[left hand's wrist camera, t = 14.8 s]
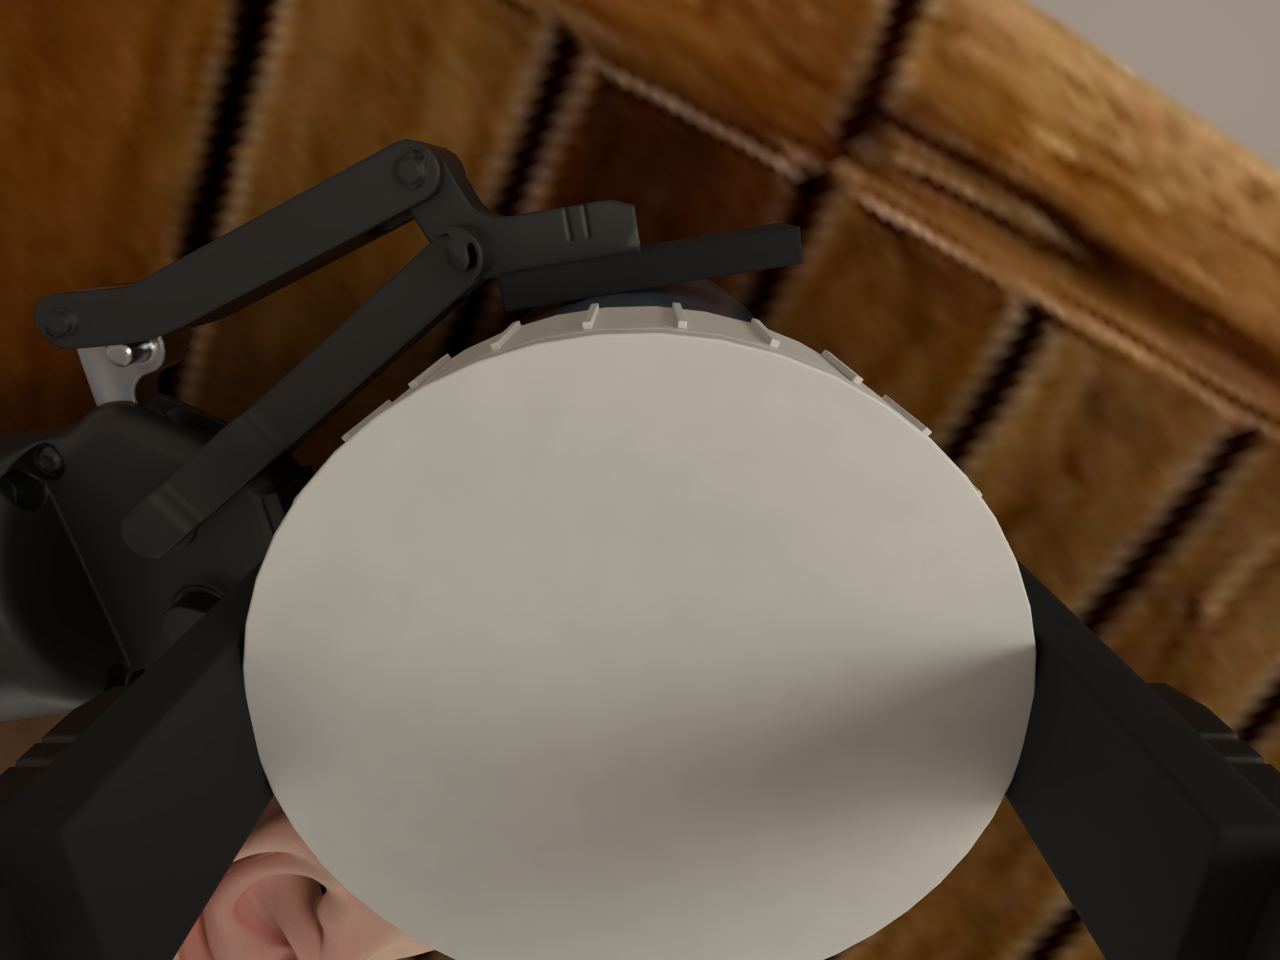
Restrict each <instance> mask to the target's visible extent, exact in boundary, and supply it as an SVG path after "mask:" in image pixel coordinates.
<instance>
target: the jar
mask: <svg viewBox="0 0 1280 960" xmlns="http://www.w3.org/2000/svg"><path fill="white" fill-rule="evenodd" d="M596 303H598V304H599V308H605V307H643V306H658V307H667V308H672V304H673V303H680V305H681V307H682V309H686V310H695V311H704V312H709V313H713V314H717V315H721V316H725V317H729V318H733V319H737V320H741V321H745V322H749V323H751V320H752V318H754V319H756V318H755V317H754V316H753V315H752V314H751V313H750V312H749V311H748V310H747V309H746V308H745V307H744V306H743V305H742V304H741V303H740V302H739V301H738V300H737V299H736V298H734V297H733V296H732V295H731V294H729V293H728V292H727V291H725V290H724V289H723V288H721V287H719V286H717V285H716V284H714V283H712V282H710V281H709V280H707V279H703V280H697V281H691V282H685V283H678V284H672V285H666V286H660V287H654V288H648V289H642V290H636V291H629V292H623V293H617V294H611V295H605V296H599V297H593V298H587V299H581V300H574V301H568V302H562V303H556V304H550V305H544V306H538V307H534V308H533V309H532V310H531V311H530V312H529V313H528V314H527V315H526V316H525V317H524V318H523V319H522V320H521V321H520V324H521V326H522V325H526V324H529V323H532V322H536V321H539V320H542V319H546V318H549V317H552V316H556V315H561V314H567V313H574V312H580V311H586V310H588V309H589V307H590V305H591V304H596Z"/></svg>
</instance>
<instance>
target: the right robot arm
mask: <svg viewBox="0 0 1280 960" xmlns="http://www.w3.org/2000/svg"><path fill="white" fill-rule="evenodd" d="M414 219H415V220H416V221H417V223H418V225H419V226H420V228H421V230H422V231H423V233H424V234H425V236H426V238H427V239H428V241H429V242H430V244H429V245H428V246H427V247H426V248H424V249H423V250H422V251H421V252H420V253H419V254H418V255H417V256H416V257H415V258H413V259H412V260H411V261H410V262H409V263H408V264H407V265H406V266H405V267H404V268H403V269H401V270H400V271H399V272H398V273H397V274H396V275H395V276H394V277H393V278H392V279H391V280H389V281H388V282H387V283H386V284H385V285H384V286H383V287H382V288H381V289H380V290H378V291H377V292H376V293H375V294H374V295H373V296H372V297H371V298H370V299H369V300H368V301H366V302H365V303H364V304H363V305H362V306H361V307H360V308H359V309H358V310H357V311H356V312H354V313H353V314H352V315H351V316H350V317H349V318H348V319H347V320H346V321H345V322H344V323H342V324H341V325H340V326H339V327H338V328H337V329H336V330H335V331H334V332H333V333H331V334H330V335H329V336H328V337H327V338H326V339H325V340H324V341H323V342H322V343H321V344H319V345H318V346H317V347H316V348H315V349H314V350H313V351H312V352H311V353H310V354H309V355H307V356H306V357H305V358H304V359H303V360H302V361H301V362H300V363H299V364H298V365H297V366H295V367H294V368H293V369H292V370H291V371H290V372H289V373H288V374H287V375H286V376H284V377H283V378H282V379H281V380H280V381H279V382H278V383H277V384H276V385H275V386H274V387H272V388H271V389H270V390H269V391H268V392H267V393H266V394H265V395H264V396H263V397H262V398H260V399H259V400H258V401H257V402H256V403H255V404H254V405H253V406H251V407H250V408H249V409H248V410H246V411H245V412H244V413H242V414H241V415H239V416H238V417H237V418H235V419H234V420H233V421H232V422H230V423H229V422H227V421H225V420H222V419H220V418H218V417H216V416H213V415H211V414H209V413H207V412H204V411H202V410H200V409H198V408H196V407H193V406H191V405H189V404H187V403H184V402H182V401H180V400H178V399H175V398H173V397H171V396H168V395H166V394H162V393H158V388H157V381H158V377H159V375H160V373H161V371H163V370H164V369H165V368H166V367H169V366H171V365H173V364H176V363H178V362H179V361H180V360H181V359H183V357H184V355H185V353H186V346H187V345H188V344H189V342H190V336H189V334H188V332H187V330H186V329H190V328H193V327H196V326H200V325H203V324H207V323H210V322H214V321H217V320H220V319H222V318H224V317H226V316H229V315H231V314H233V313H235V312H237V311H239V310H241V309H243V308H245V307H247V306H249V305H251V304H252V303H254V302H256V301H258V300H260V299H262V298H264V297H266V296H268V295H270V294H272V293H274V292H276V291H277V290H279V289H281V288H283V287H285V286H287V285H289V284H291V283H293V282H295V281H297V280H299V279H300V278H302V277H304V276H306V275H308V274H310V273H312V272H314V271H316V270H318V269H320V268H322V267H323V266H325V265H327V264H329V263H331V262H333V261H335V260H337V259H339V258H341V257H343V256H345V255H347V254H348V253H350V252H352V251H354V250H356V249H358V248H360V247H362V246H364V245H366V244H368V243H370V242H371V241H373V240H375V239H377V238H379V237H381V236H383V235H385V234H387V233H389V232H391V231H393V230H395V229H396V228H398V227H400V226H402V225H404V224H406V223H408V222H410V221H412V220H414ZM801 263H803V260H802V248H801V235H800V227H799V226H793V225H787V224H781V223H775V224H769V225H763V226H757V227H751V228H745V229H739V230H733V231H727V232H721V233H715V234H709V235H703V236H697V237H691V238H685V239H679V240H673V241H667V242H661V243H655V244H649V245H643V246H641V244H640V237H639V231H638V224H637V218H636V211H635V205H632V204H628V203H624V202H620V201H616V200H604V201H598V202H592V203H586V204H581V205H575V206H569V207H563V208H557V209H551V210H545V211H539V212H534V213H528V214H522V215H516V216H502V215H498V214H496V213H494V212H492V211H490V210H489V209H488V208H487V207H485V206H484V205H483V203H482V202H481V201H480V199H479V198H478V196H477V195H476V193H475V191H474V190H473V188H472V186H471V184H470V183H469V181H468V179H467V178H466V176H465V171H464V168H463V165H462V162H461V161H460V160H459V158H458V157H457V156H456V154H454V153H453V152H451V151H449V150H448V149H446V148H442V147H438V146H435V145H431V144H427V143H424V142H419V141H414V140H408V139H406V140H402V141H398V142H395V143H393V144H392V145H390V146H388V147H386V148H384V149H382V150H380V151H379V152H377V153H375V154H373V155H371V156H369V157H367V158H366V159H364V160H362V161H360V162H358V163H356V164H355V165H353V166H351V167H349V168H347V169H345V170H343V171H342V172H340V173H338V174H336V175H334V176H332V177H331V178H329V179H327V180H325V181H323V182H321V183H319V184H318V185H316V186H314V187H312V188H310V189H308V190H306V191H305V192H303V193H301V194H299V195H297V196H295V197H294V198H292V199H290V200H288V201H286V202H284V203H282V204H281V205H279V206H277V207H275V208H273V209H271V210H269V211H268V212H266V213H264V214H262V215H260V216H258V217H257V218H255V219H253V220H251V221H249V222H247V223H245V224H244V225H242V226H240V227H238V228H236V229H234V230H233V231H231V232H229V233H227V234H225V235H223V236H221V237H220V238H218V239H216V240H214V241H212V242H210V243H208V244H207V245H205V246H203V247H201V248H199V249H197V250H196V251H194V252H192V253H190V254H188V255H186V256H184V257H183V258H181V259H179V260H177V261H175V262H173V263H172V264H170V265H168V266H166V267H164V268H162V269H160V270H159V271H157V272H155V273H153V274H151V275H149V276H147V277H146V278H144V279H142V280H140V281H138V282H134V283H123V284H117V285H111V286H104V287H98V288H92V289H86V290H79V291H73V292H67V293H61V294H54V295H50V296H47V297H44V298H42V299H41V300H40V301H39V302H38V303H37V304H36V307H35V311H34V319H35V325H36V327H37V329H38V330H39V332H40V334H41V335H42V336H43V337H44V338H45V339H46V340H47V341H48V342H49V343H51V344H53V345H55V346H57V347H59V348H63V349H77V351H78V354H79V357H80V360H81V363H82V366H83V368H84V371H85V374H86V377H87V380H88V383H89V385H90V388H91V391H92V394H93V397H94V400H95V403H96V405H97V407H95V408H93V409H92V410H90V411H89V412H88V413H87V414H86V415H85V416H84V417H83V418H82V419H81V420H80V421H79V422H78V423H74V424H67V425H61V426H55V427H49V428H42V429H36V430H30V431H24V432H17V433H11V434H5V435H0V722H7V721H15V720H22V719H29V718H37V717H44V716H52V715H59V714H66V713H70V712H71V711H72V710H74V709H75V708H77V707H79V706H81V705H82V704H84V703H86V702H88V701H89V700H91V699H93V698H94V697H96V696H98V695H100V694H101V693H103V692H105V691H107V690H108V689H110V688H112V687H114V686H131V685H132V684H133V683H134V682H135V681H136V680H137V679H138V678H139V677H140V676H141V675H142V674H143V673H144V672H145V671H146V670H147V669H148V668H149V667H150V666H151V665H152V664H154V663H155V662H156V661H157V660H158V659H159V658H160V657H161V656H162V655H163V654H164V653H165V652H166V651H167V650H168V649H169V648H170V647H171V646H172V645H173V644H174V643H175V642H177V641H178V640H179V639H180V638H181V637H182V636H183V635H184V634H185V633H186V632H187V631H188V630H189V629H190V628H191V627H192V626H193V625H194V624H195V623H196V622H197V621H198V620H200V619H201V618H202V617H203V616H204V615H205V614H206V613H207V612H208V611H209V610H210V609H211V608H212V607H213V606H214V605H215V604H216V603H217V602H218V601H219V600H220V599H221V598H223V597H224V596H225V595H226V594H227V593H228V592H229V591H230V590H231V589H232V588H233V587H234V586H235V585H236V584H237V583H238V582H239V581H240V580H241V579H242V578H243V577H244V576H246V575H247V574H248V573H249V572H250V571H251V570H252V569H253V568H254V567H255V566H256V565H257V564H258V563H259V562H260V561H261V560H262V559H263V558H264V557H265V556H266V553H267V551H268V548H269V546H270V543H271V541H272V539H273V536H274V534H275V532H276V530H277V529H278V527H279V526H280V524H281V522H282V521H283V519H284V517H285V516H286V514H287V513H288V511H289V509H290V508H291V506H292V504H293V501H294V499H295V497H296V496H297V495H298V494H299V493H300V491H301V490H302V489H303V488H304V487H305V485H306V484H307V483H308V482H309V481H310V480H311V478H312V477H313V476H314V474H313V471H312V468H311V465H307V466H301V465H300V464H299V462H298V461H297V460H296V459H295V458H294V457H293V456H292V455H291V453H292V452H293V451H294V450H296V449H297V448H298V447H299V446H300V445H301V444H302V443H304V442H305V441H306V440H307V439H308V438H309V437H310V436H312V435H313V434H314V433H315V432H316V431H317V430H318V429H319V428H321V427H322V426H323V425H324V424H325V423H326V422H327V421H328V420H329V419H330V418H331V417H332V416H333V415H334V414H335V413H336V412H337V411H339V410H340V409H341V408H342V407H343V406H344V405H345V404H346V403H348V402H349V401H350V400H351V399H352V398H353V397H354V396H356V395H357V394H358V393H359V392H360V391H361V390H362V389H364V388H365V387H366V386H367V385H368V384H369V383H370V382H371V381H373V380H374V379H375V378H376V377H377V376H378V375H379V374H381V373H382V372H383V371H384V370H385V369H386V368H387V367H389V366H390V365H391V364H392V363H393V362H394V361H395V360H397V359H398V358H399V357H400V356H401V355H402V354H403V353H404V352H406V351H407V350H408V349H409V348H410V347H411V346H412V345H414V344H415V343H416V342H417V341H418V340H419V339H420V338H422V337H423V336H424V335H425V334H426V333H427V332H428V331H429V330H431V329H432V328H433V327H434V326H435V325H436V324H437V323H439V322H440V321H441V320H442V319H443V318H444V317H445V316H447V315H448V314H449V313H450V312H451V311H452V310H453V309H454V308H456V307H457V306H458V305H459V304H460V303H461V302H462V301H464V300H465V299H466V298H467V297H468V296H469V295H470V294H472V293H473V292H474V291H475V290H476V289H477V288H478V287H480V286H481V285H482V284H483V283H484V282H485V281H486V280H487V279H489V278H494V277H497V278H498V282H499V287H500V291H501V296H502V301H503V305H504V310H505V312H507V311H513V310H519V309H525V308H532V307H538V306H544V305H550V304H556V303H562V302H568V301H574V300H581V299H587V298H593V297H599V296H605V295H611V294H617V293H623V292H629V291H636V290H642V289H648V288H654V287H660V286H666V285H672V284H678V283H685V282H691V281H697V280H703V279H709V278H715V277H721V276H727V275H734V274H740V273H746V272H752V271H758V270H764V269H770V268H776V267H783V266H789V265H795V264H801Z"/></svg>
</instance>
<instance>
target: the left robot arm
mask: <svg viewBox="0 0 1280 960" xmlns="http://www.w3.org/2000/svg"><path fill="white" fill-rule="evenodd" d="M264 558H265V557H264ZM264 558H263V559H262V560H261V561H260V562H259V563H258V564H257V565H256V566H255V567H254V568H253V569H252V570H251V571H250V572H249V573H248V574H247V575H246V576H244V577H243V578H242V579H241V580H240V581H239V582H238V583H237V584H236V585H235V586H234V587H233V588H232V589H231V590H230V591H229V592H228V593H227V594H226V595H225V596H224V597H223V598H221V599H220V600H219V601H218V602H217V603H216V604H215V605H214V606H213V607H212V608H211V609H210V610H209V611H208V612H207V613H206V614H205V615H204V616H203V617H202V618H201V619H200V620H198V621H197V622H196V623H195V624H194V625H193V626H192V627H191V628H190V629H189V630H188V631H187V632H186V633H185V634H184V635H183V636H182V637H181V638H180V639H179V640H178V641H177V642H175V643H174V644H173V645H172V646H171V647H170V648H169V649H168V650H167V651H166V652H165V653H164V654H163V655H162V656H161V657H160V658H159V659H158V660H157V661H156V662H155V663H154V664H152V665H151V666H150V667H149V668H148V669H147V670H146V671H145V672H144V673H143V674H142V675H141V676H140V677H139V678H138V679H137V680H136V681H135V682H134V683H133V684H132V685H131V686H114V687H112V688H110V689H108V690H107V691H105V692H103V693H101V694H100V695H98V696H96V697H94V698H93V699H91V700H89V701H88V702H86V703H84V704H82V705H81V706H79V707H77V708H75V709H74V710H72V711H71V712H70V713H69V714H68V715H67V716H66V717H65V718H64V719H62V720H61V721H60V722H59V723H58V724H57V725H56V726H55V727H54V728H52V729H51V730H50V731H49V732H48V733H47V734H46V735H45V736H44V737H42V742H41V743H36V744H35V745H34V746H33V747H31V748H30V749H29V750H28V751H27V752H26V753H25V754H24V755H23V756H21V757H20V758H19V759H18V760H17V761H16V766H15V767H9V768H8V769H7V770H6V771H5V772H4V773H3V774H1V775H0V960H173V959H174V957H175V955H176V954H177V952H178V951H179V949H180V947H181V946H182V944H183V942H184V941H185V939H186V938H187V936H188V934H189V933H190V931H191V929H192V928H193V926H194V924H195V923H196V921H197V920H198V918H199V916H200V915H201V913H202V911H203V910H204V908H205V907H206V905H207V903H208V902H209V900H210V898H211V897H212V895H213V893H214V892H215V890H216V889H217V887H218V885H219V884H220V882H221V880H222V879H223V877H224V876H225V874H226V872H227V871H228V869H229V867H230V866H231V864H232V862H233V861H234V859H235V858H236V856H237V854H238V853H239V851H240V849H241V848H242V846H243V845H244V843H245V841H246V840H247V838H248V836H249V835H250V833H251V831H252V830H253V828H254V827H255V825H256V823H257V822H258V820H259V818H260V817H261V815H262V814H263V812H264V810H265V809H266V807H267V805H268V804H269V802H270V800H271V799H272V797H273V796H274V794H273V791H272V789H271V787H270V784H269V782H268V779H267V777H266V774H265V772H264V770H263V767H262V765H261V761H260V757H259V754H258V749H257V744H256V740H255V735H254V731H253V726H252V722H251V717H250V713H249V708H248V703H247V698H246V693H245V687H244V678H243V656H244V641H245V627H246V620H247V616H248V611H249V607H250V603H251V598H252V594H253V590H254V586H255V581H256V577H257V575H258V573H259V570H260V568H261V565H262V563H263V560H264ZM1015 559H1016V558H1015ZM1016 561H1017V564H1018V567H1019V570H1020V574H1021V577H1022V580H1023V584H1024V587H1025V590H1026V594H1027V597H1028V601H1029V604H1030V608H1031V616H1032V624H1033V631H1034V639H1035V647H1036V676H1035V691H1034V697H1033V702H1032V706H1031V711H1030V716H1029V720H1028V725H1027V730H1026V734H1025V739H1024V743H1023V747H1022V751H1021V755H1020V759H1019V763H1018V766H1017V768H1016V771H1015V774H1014V777H1013V780H1012V782H1011V784H1010V786H1009V787H1008V789H1007V791H1006V793H1005V795H1006V797H1007V798H1008V800H1009V802H1010V803H1011V805H1012V807H1013V808H1014V810H1015V811H1016V813H1017V815H1018V816H1019V818H1020V820H1021V821H1022V823H1023V825H1024V826H1025V828H1026V829H1027V831H1028V833H1029V834H1030V836H1031V838H1032V839H1033V841H1034V842H1035V844H1036V846H1037V847H1038V849H1039V851H1040V852H1041V854H1042V856H1043V857H1044V859H1045V860H1046V862H1047V864H1048V865H1049V867H1050V869H1051V870H1052V872H1053V873H1054V875H1055V877H1056V878H1057V880H1058V882H1059V883H1060V885H1061V887H1062V888H1063V890H1064V891H1065V893H1066V895H1067V896H1068V898H1069V900H1070V901H1071V903H1072V905H1073V906H1074V908H1075V909H1076V911H1077V913H1078V914H1079V916H1080V918H1081V919H1082V921H1083V922H1084V924H1085V926H1086V927H1087V929H1088V931H1089V932H1090V934H1091V936H1092V937H1093V939H1094V940H1095V942H1096V944H1097V945H1098V947H1099V949H1100V950H1101V952H1102V953H1103V955H1104V957H1105V958H1106V960H1280V772H1279V771H1277V770H1276V769H1275V768H1274V767H1273V766H1272V765H1271V764H1265V763H1264V758H1263V757H1262V756H1261V755H1260V754H1258V753H1257V752H1256V751H1255V750H1254V749H1253V748H1252V747H1251V746H1250V745H1248V744H1247V743H1246V742H1245V741H1244V740H1238V737H1237V736H1238V735H1237V734H1236V733H1235V732H1234V731H1233V730H1232V729H1231V728H1229V727H1228V726H1227V725H1226V724H1225V723H1224V722H1223V721H1222V720H1221V719H1219V718H1218V717H1217V716H1216V715H1215V714H1214V713H1213V712H1212V711H1210V710H1209V709H1208V708H1207V707H1206V706H1204V705H1202V704H1201V703H1199V702H1197V701H1195V700H1194V699H1192V698H1190V697H1188V696H1187V695H1185V694H1183V693H1181V692H1180V691H1178V690H1176V689H1174V688H1173V687H1171V686H1169V685H1167V684H1166V683H1145V682H1144V681H1143V680H1142V679H1141V678H1140V677H1139V676H1138V675H1137V674H1136V673H1135V672H1134V671H1133V670H1132V669H1131V668H1130V667H1129V666H1128V665H1127V664H1126V663H1125V662H1124V661H1123V660H1121V659H1120V658H1119V657H1118V656H1117V655H1116V654H1115V653H1114V652H1113V651H1112V650H1111V649H1110V648H1109V647H1108V646H1107V645H1106V644H1105V643H1104V642H1103V641H1102V640H1101V639H1100V638H1098V637H1097V636H1096V635H1095V634H1094V633H1093V632H1092V631H1091V630H1090V629H1089V628H1088V627H1087V626H1086V625H1085V624H1084V623H1083V622H1082V621H1081V620H1080V619H1079V618H1078V617H1077V616H1075V615H1074V614H1073V613H1072V612H1071V611H1070V610H1069V609H1068V608H1067V607H1066V606H1065V605H1064V604H1063V603H1062V602H1061V601H1060V600H1059V599H1058V598H1057V597H1056V596H1055V595H1054V594H1052V593H1051V592H1050V591H1049V590H1048V589H1047V588H1046V587H1045V586H1044V585H1043V584H1042V583H1041V582H1040V581H1039V580H1038V579H1037V578H1036V577H1035V576H1034V575H1033V574H1032V573H1031V572H1029V571H1028V570H1027V569H1026V568H1025V567H1024V566H1023V565H1022V564H1021V563H1020V562H1019V561H1018V560H1017V559H1016Z"/></svg>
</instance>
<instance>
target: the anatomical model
mask: <svg viewBox="0 0 1280 960" xmlns="http://www.w3.org/2000/svg"><path fill="white" fill-rule="evenodd" d="M432 950H435V949H433V948H431V947H429V946H427V945H425V944H423V943H421V942H419V941H417V940H416V939H414V938H413V937H411V936H409V935H408V934H406V933H405V932H403V931H402V930H400V929H398V928H397V927H395V926H394V925H392V924H390V923H389V922H387V921H386V920H384V919H383V918H381V917H380V916H379V915H378V914H376V913H375V912H374V911H373V910H371V909H370V908H369V907H368V906H366V905H365V904H364V903H363V902H361V901H360V900H359V899H357V898H356V897H355V896H354V895H352V894H351V893H350V892H349V891H348V890H347V889H346V888H345V887H344V886H343V885H342V884H341V883H340V882H339V881H338V880H337V879H336V878H335V877H334V876H333V875H332V874H331V873H330V872H329V871H328V870H327V869H326V868H325V867H324V866H323V865H322V864H321V863H320V862H319V860H318V859H317V858H316V856H315V855H314V854H313V853H312V851H311V850H310V849H309V847H308V846H307V845H306V844H305V842H304V841H303V840H302V838H301V837H300V836H299V835H298V833H297V832H296V831H295V829H294V828H293V826H292V824H291V823H290V821H289V819H288V818H287V816H286V814H285V812H284V811H283V809H282V807H281V806H280V804H279V802H278V800H277V799H276V797H275V795H274V796H273V797H272V799H271V800H270V802H269V804H268V805H267V807H266V809H265V810H264V812H263V814H262V815H261V817H260V818H259V820H258V822H257V823H256V825H255V827H254V828H253V830H252V831H251V833H250V835H249V836H248V838H247V840H246V841H245V843H244V845H243V846H242V848H241V849H240V851H239V853H238V854H237V856H236V858H235V859H234V861H233V862H232V864H231V866H230V867H229V869H228V871H227V872H226V874H225V876H224V877H223V879H222V880H221V882H220V884H219V885H218V887H217V889H216V890H215V892H214V893H213V895H212V897H211V898H210V900H209V902H208V903H207V905H206V907H205V908H204V910H203V911H202V913H201V915H200V916H199V918H198V920H197V921H196V923H195V924H194V926H193V928H192V929H191V931H190V933H189V934H188V936H187V938H186V939H185V941H184V942H183V944H182V946H181V947H180V949H179V951H178V952H177V954H176V955H175V957H174V959H173V960H396V959H400V958H405V957H409V956H414V955H418V954H421V953H425V952H428V951H432Z"/></svg>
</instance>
